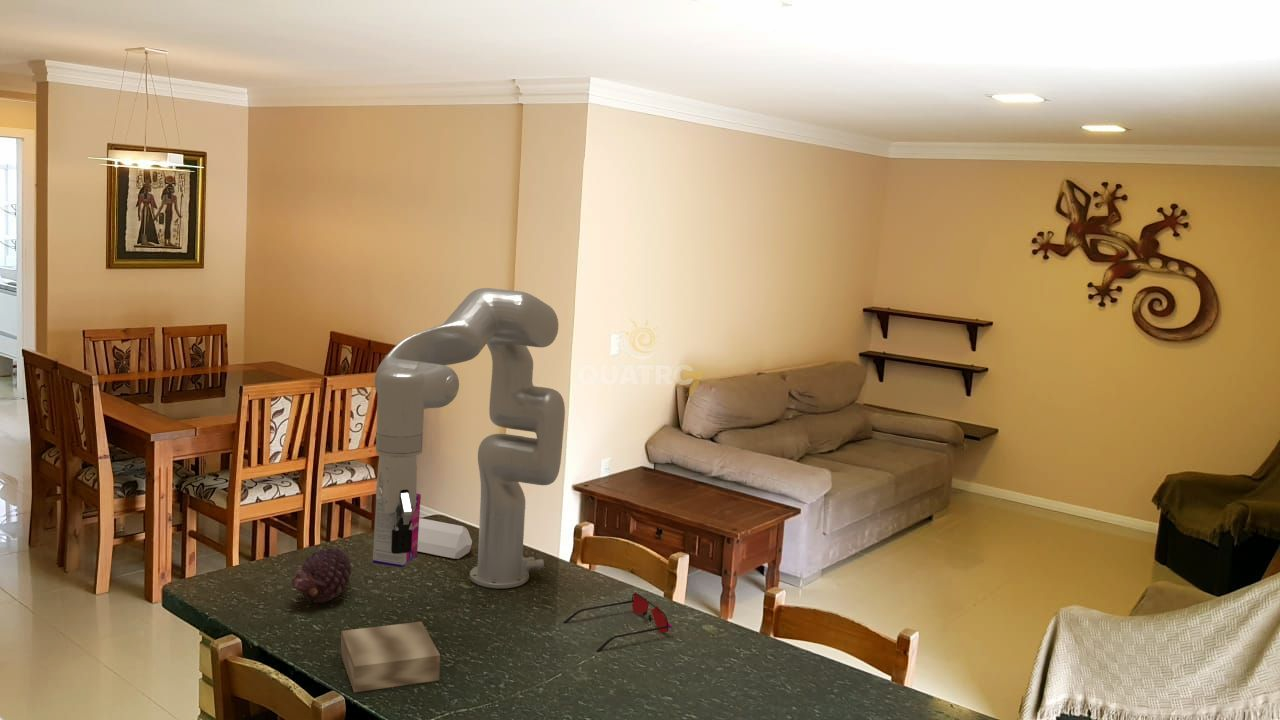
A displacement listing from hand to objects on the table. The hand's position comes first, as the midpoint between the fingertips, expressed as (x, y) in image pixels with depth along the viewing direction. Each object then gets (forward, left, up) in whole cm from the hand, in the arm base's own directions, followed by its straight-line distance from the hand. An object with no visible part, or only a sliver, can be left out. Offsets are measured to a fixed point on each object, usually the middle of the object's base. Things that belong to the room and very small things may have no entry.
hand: (396, 543), depth 168 cm
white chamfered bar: (-18, -56, -23) cm, 63 cm away
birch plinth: (+1, 0, -22) cm, 22 cm away
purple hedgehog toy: (+7, -33, -22) cm, 40 cm away
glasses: (-44, -3, -23) cm, 49 cm away
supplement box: (0, 0, -3) cm, 3 cm away
